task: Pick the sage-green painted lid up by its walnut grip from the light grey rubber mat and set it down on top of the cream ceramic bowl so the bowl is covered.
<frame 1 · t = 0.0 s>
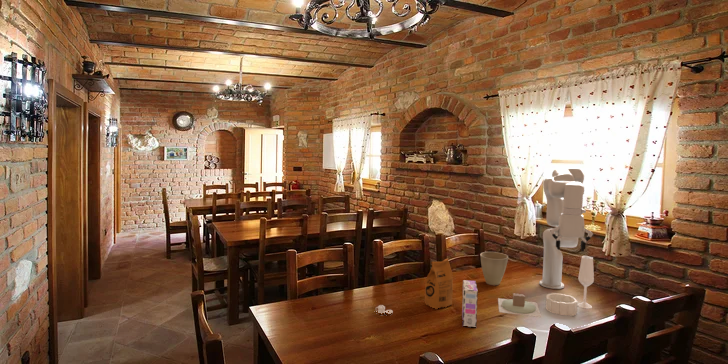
hand: (570, 249, 188), 31 cm above the table, tool pointing down, fingers open, 9 cm apart
bowl: (560, 310, 199), on the table
lid: (518, 307, 201), point 1 cm above the table, touching mat
candy box: (468, 321, 186), on the table
plant pot: (493, 283, 237), on the table
mat: (518, 308, 201), on the table
coffee package: (438, 305, 205), on the table
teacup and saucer: (385, 317, 190), on the table
champagne flute: (584, 306, 205), on the table
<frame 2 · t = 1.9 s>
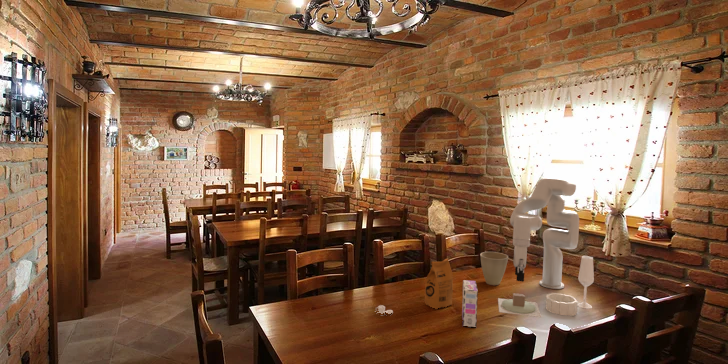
hand: (519, 278, 199), 15 cm above the table, tool pointing down, fingers open, 9 cm apart
nothing on the table moved.
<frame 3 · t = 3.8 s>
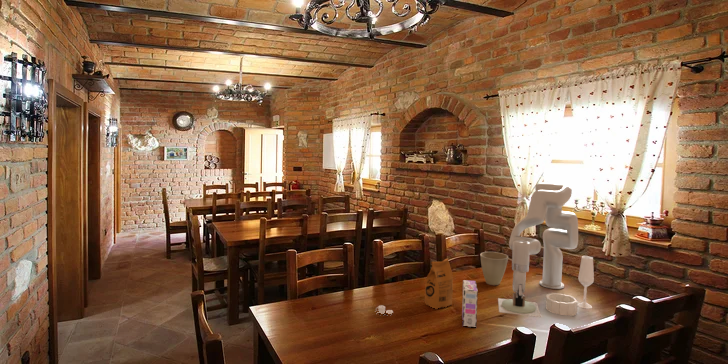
hand: (518, 304, 201), 2 cm above the table, tool pointing down, fingers closed on lid, 3 cm apart
lid: (518, 307, 201), point 1 cm above the table, touching gripper
everything else where it was.
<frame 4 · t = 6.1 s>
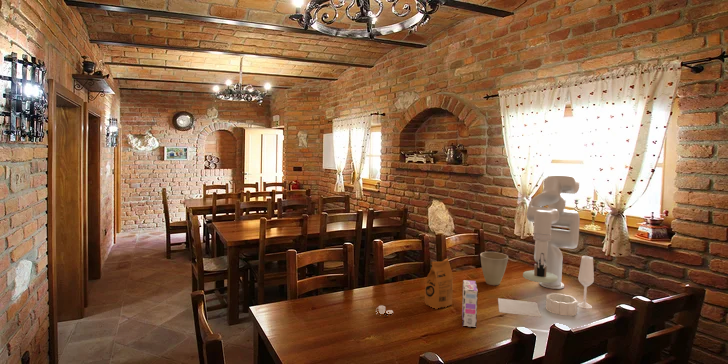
hand: (540, 274, 199), 17 cm above the table, tool pointing down, fingers closed on lid, 3 cm apart
lid: (539, 277, 199), point 15 cm above the table, touching gripper
everything else where it was.
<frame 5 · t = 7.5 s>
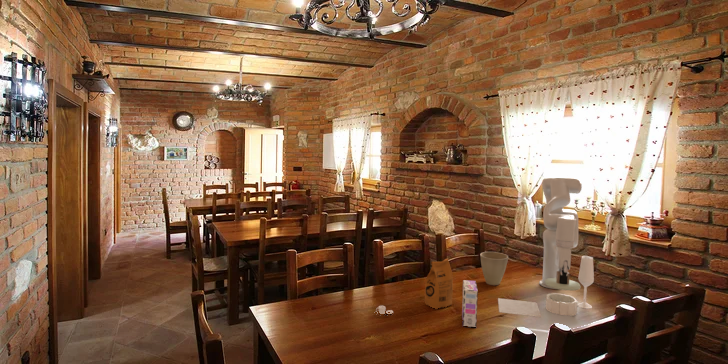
hand: (562, 282, 197), 14 cm above the table, tool pointing down, fingers closed on lid, 3 cm apart
lid: (562, 285, 197), point 12 cm above the table, touching gripper
everything else where it was.
when the fingers open (9 cm above the table, at t = 8.6 s): lid drops 1 cm, resting on bowl.
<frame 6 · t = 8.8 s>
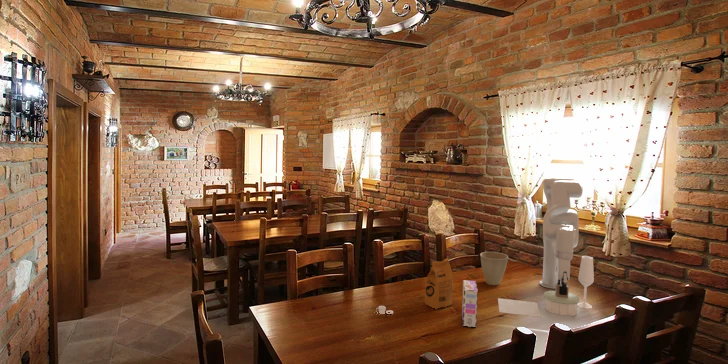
hand: (561, 292, 198), 9 cm above the table, tool pointing down, fingers open, 5 cm apart
lid: (561, 298, 198), point 6 cm above the table, touching bowl
everything else where it was.
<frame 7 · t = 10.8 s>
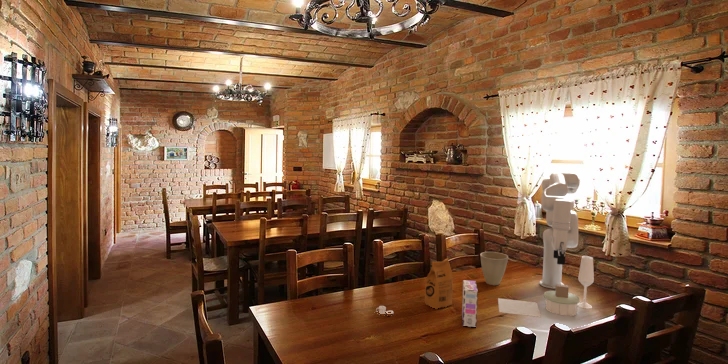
hand: (558, 261, 199), 23 cm above the table, tool pointing down, fingers open, 9 cm apart
nothing on the table moved.
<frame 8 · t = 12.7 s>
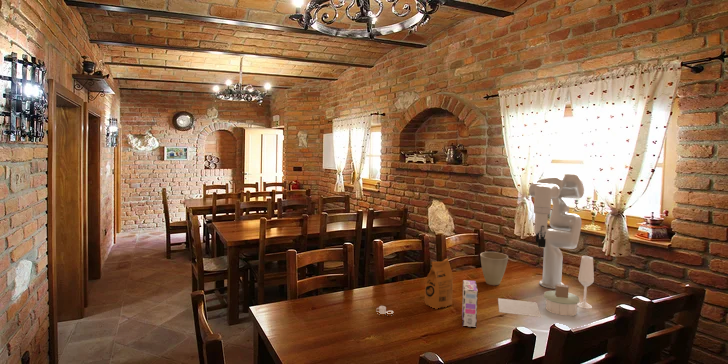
hand: (540, 244, 209), 28 cm above the table, tool pointing down, fingers open, 9 cm apart
nothing on the table moved.
at the end: lid 0.1 cm from the bowl (horizontally); lid point 6.0 cm above the table; lid tilted 0° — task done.
